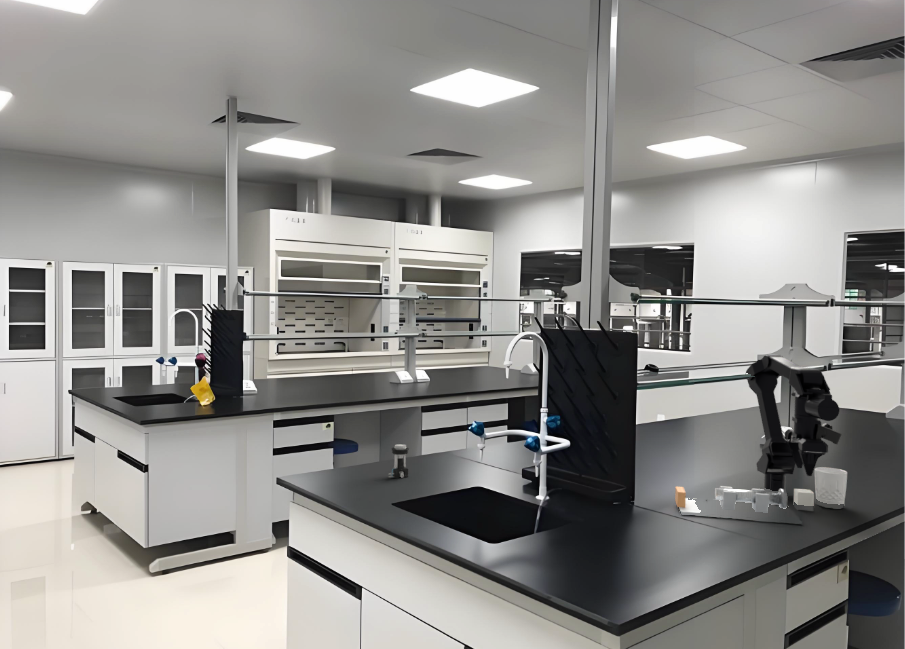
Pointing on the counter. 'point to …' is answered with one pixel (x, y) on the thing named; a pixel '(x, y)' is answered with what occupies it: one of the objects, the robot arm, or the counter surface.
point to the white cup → (830, 485)
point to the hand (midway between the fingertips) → (804, 471)
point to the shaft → (750, 495)
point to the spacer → (804, 497)
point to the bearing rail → (721, 501)
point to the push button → (399, 461)
